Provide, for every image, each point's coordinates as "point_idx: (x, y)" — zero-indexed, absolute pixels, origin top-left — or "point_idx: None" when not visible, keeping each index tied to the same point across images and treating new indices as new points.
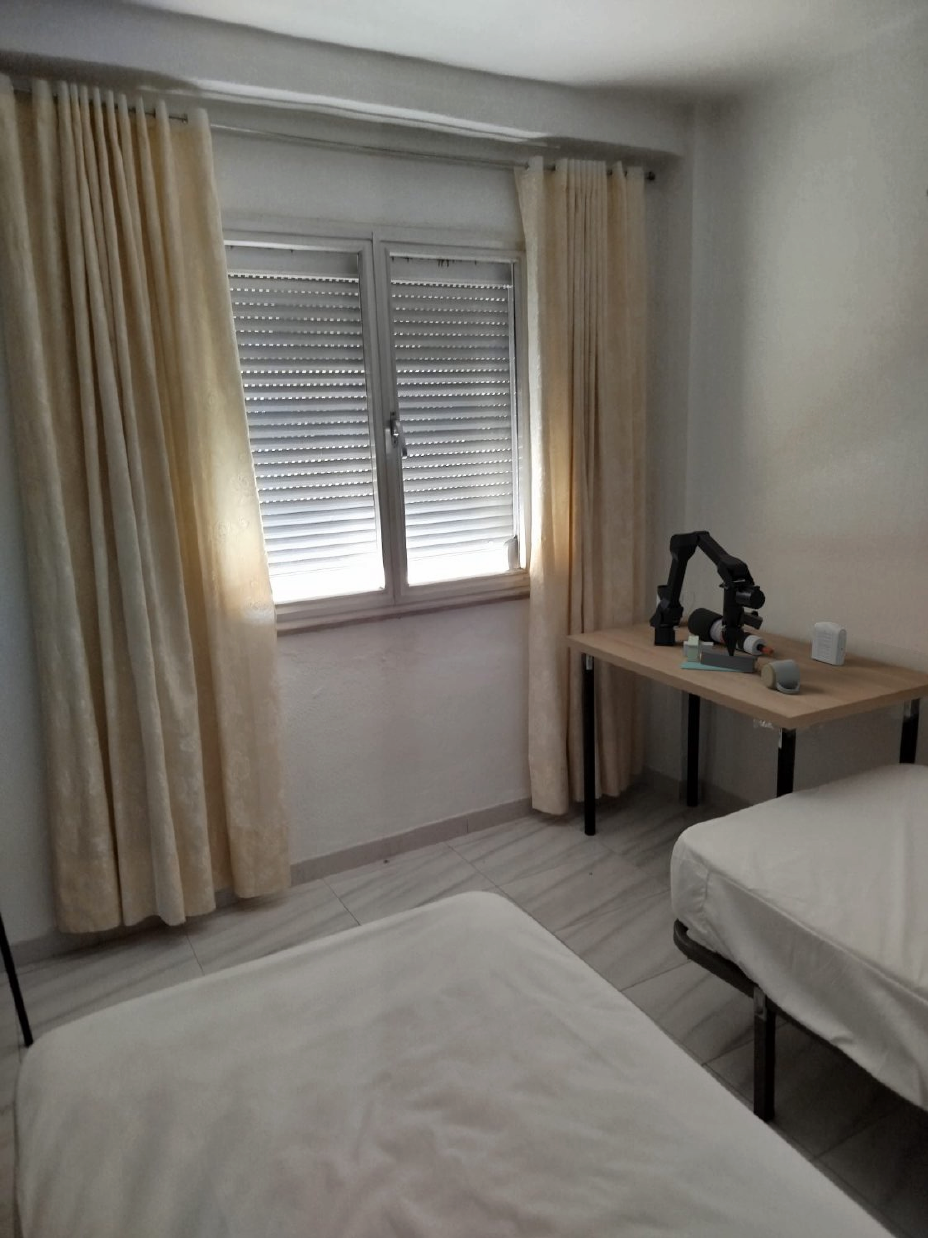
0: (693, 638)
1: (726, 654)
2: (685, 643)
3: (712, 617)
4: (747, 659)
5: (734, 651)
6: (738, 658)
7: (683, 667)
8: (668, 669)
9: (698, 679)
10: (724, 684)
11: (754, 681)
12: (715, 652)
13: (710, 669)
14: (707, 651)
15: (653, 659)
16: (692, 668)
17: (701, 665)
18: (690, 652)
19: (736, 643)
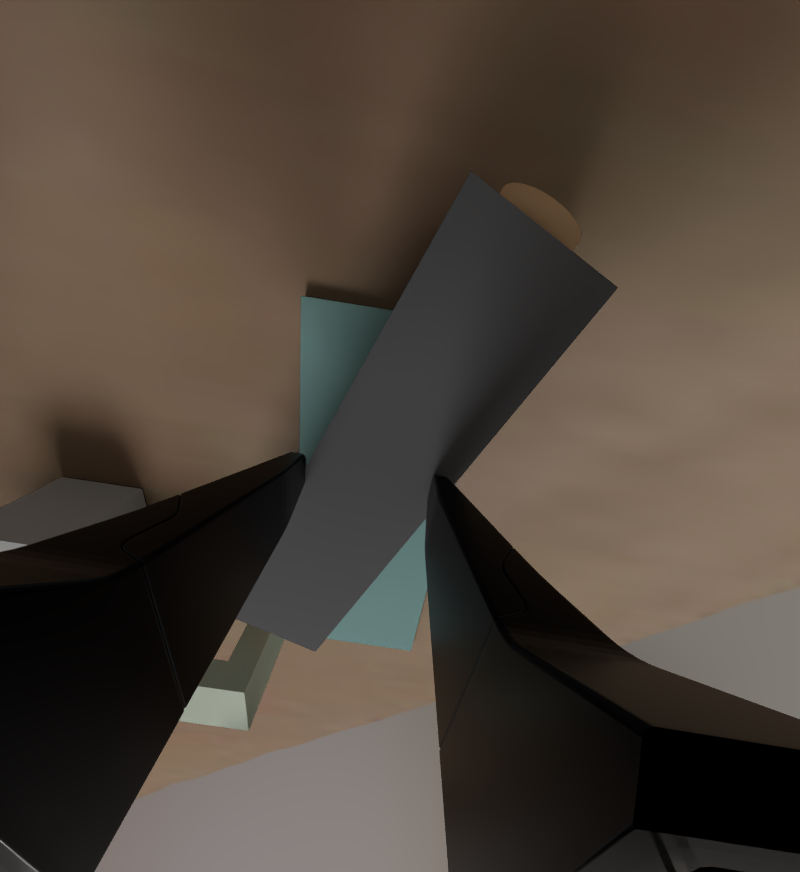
0: None
1: (378, 519)
2: None
3: None
4: (562, 349)
5: (473, 507)
6: (489, 432)
7: (409, 643)
8: (421, 679)
9: (603, 610)
10: (741, 517)
11: (753, 312)
12: (319, 581)
13: None
14: (298, 621)
15: (268, 699)
16: (420, 613)
17: None
18: (270, 663)
19: (562, 601)
